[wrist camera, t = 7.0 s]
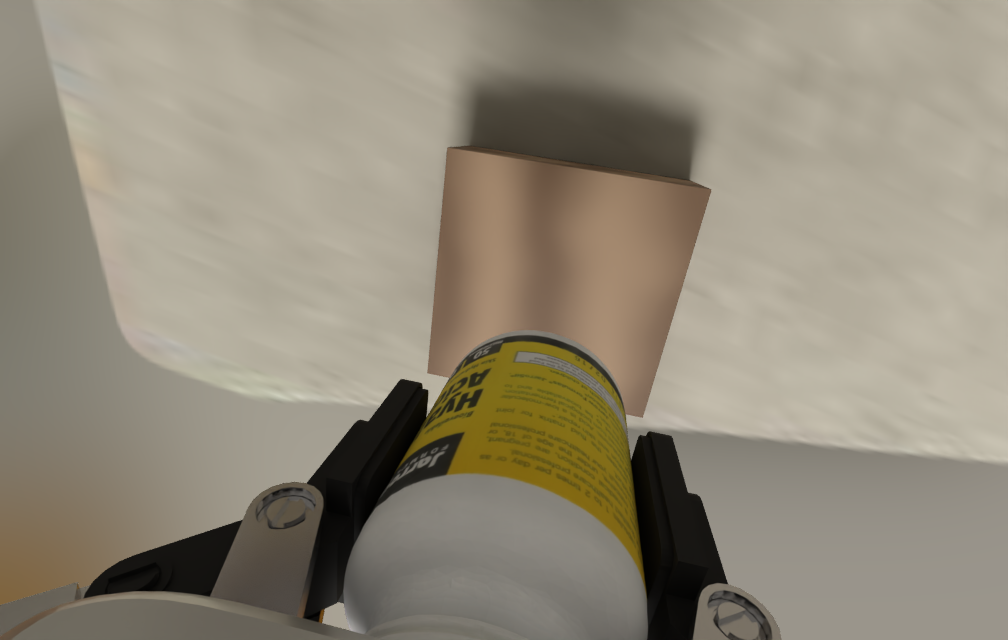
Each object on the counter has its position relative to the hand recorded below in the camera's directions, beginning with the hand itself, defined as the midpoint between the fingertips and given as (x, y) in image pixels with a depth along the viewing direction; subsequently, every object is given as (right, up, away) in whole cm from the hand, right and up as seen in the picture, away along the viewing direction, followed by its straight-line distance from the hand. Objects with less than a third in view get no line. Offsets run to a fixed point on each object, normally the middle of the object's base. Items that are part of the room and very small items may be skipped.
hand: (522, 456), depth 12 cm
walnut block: (+3, +7, +18) cm, 19 cm away
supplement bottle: (0, +1, +2) cm, 3 cm away
